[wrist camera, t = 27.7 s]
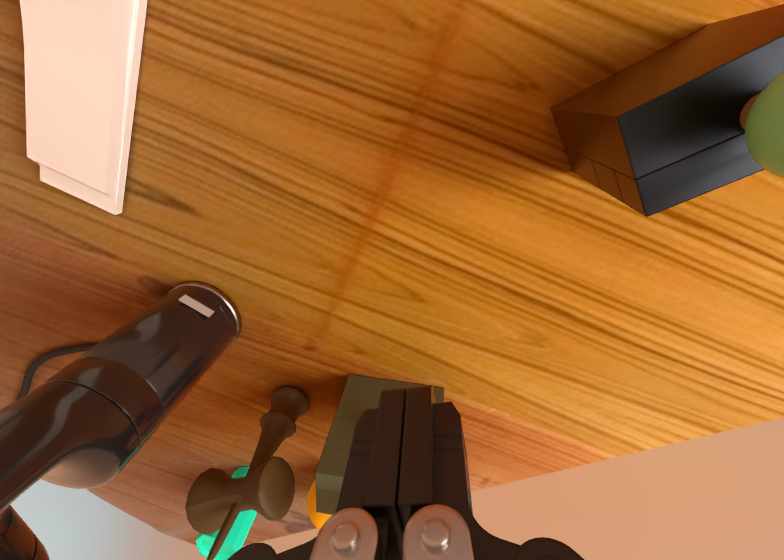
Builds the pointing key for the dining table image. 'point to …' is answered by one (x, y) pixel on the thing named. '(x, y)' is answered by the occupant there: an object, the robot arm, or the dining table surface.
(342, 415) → the olive block with peg
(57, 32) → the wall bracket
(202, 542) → the candle
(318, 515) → the orange fruit
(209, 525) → the kendama
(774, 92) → the dark block with knob
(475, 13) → the dining table surface
